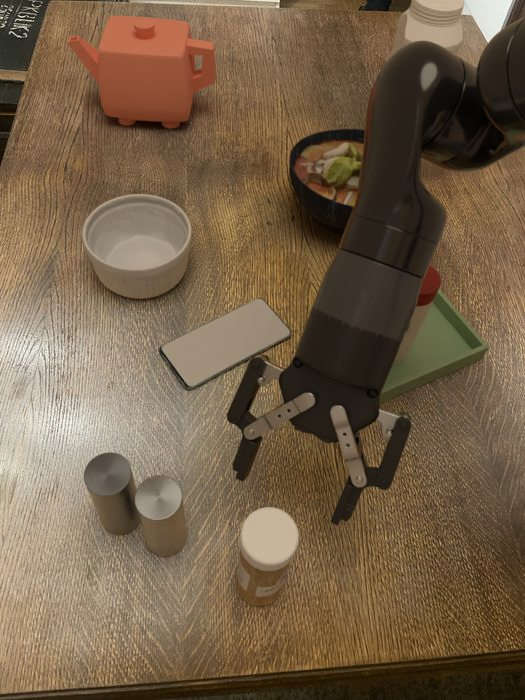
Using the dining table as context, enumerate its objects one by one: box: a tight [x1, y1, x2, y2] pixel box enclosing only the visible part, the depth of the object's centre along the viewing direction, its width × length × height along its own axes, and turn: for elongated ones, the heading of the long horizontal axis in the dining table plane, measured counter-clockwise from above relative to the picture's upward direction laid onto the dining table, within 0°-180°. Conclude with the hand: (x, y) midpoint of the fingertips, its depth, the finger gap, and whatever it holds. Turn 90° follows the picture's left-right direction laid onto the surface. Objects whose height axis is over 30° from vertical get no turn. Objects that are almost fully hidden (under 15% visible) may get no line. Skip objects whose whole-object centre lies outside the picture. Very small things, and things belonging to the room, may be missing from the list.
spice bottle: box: [392, 265, 442, 366], centre depth 68 cm, size 5×5×13 cm
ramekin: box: [81, 193, 193, 300], centre depth 76 cm, size 13×13×7 cm
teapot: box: [67, 15, 217, 129], centre depth 94 cm, size 22×13×14 cm, turn 89°
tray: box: [379, 288, 490, 405], centre depth 73 cm, size 18×11×3 cm, turn 117°
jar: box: [389, 0, 465, 58], centre depth 103 cm, size 12×10×15 cm
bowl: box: [288, 128, 365, 235], centre depth 84 cm, size 17×17×10 cm
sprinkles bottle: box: [235, 506, 300, 607], centre depth 52 cm, size 5×5×13 cm
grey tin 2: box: [134, 474, 188, 558], centre depth 55 cm, size 4×4×10 cm
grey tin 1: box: [83, 452, 141, 536], centre depth 56 cm, size 4×4×10 cm
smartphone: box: [158, 297, 292, 390], centre depth 73 cm, size 7×1×15 cm
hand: (287, 499), depth 51 cm, fingers open, 8 cm apart
